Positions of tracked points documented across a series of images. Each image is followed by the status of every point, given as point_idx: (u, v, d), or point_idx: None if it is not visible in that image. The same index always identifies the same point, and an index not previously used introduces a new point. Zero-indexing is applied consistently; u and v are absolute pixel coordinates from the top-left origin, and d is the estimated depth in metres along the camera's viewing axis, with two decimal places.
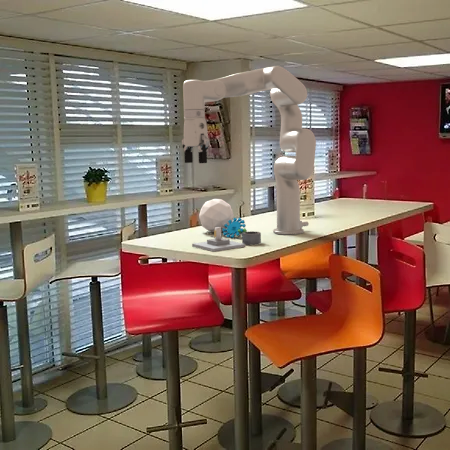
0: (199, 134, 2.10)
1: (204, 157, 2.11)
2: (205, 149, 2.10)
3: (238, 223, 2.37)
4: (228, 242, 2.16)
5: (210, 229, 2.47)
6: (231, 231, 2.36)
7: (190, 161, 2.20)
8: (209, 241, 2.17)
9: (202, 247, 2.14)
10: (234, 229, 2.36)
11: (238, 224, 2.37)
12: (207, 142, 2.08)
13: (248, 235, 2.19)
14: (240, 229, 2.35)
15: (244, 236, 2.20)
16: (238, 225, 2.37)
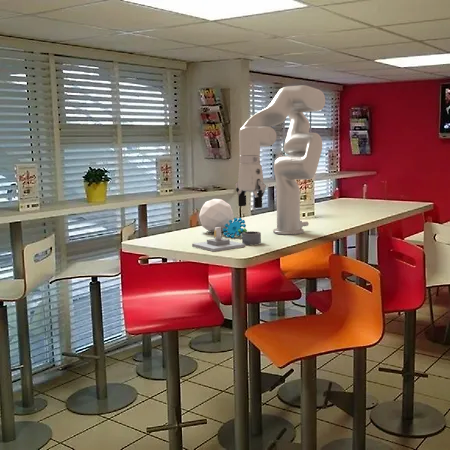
0: (255, 180, 2.14)
1: (260, 202, 2.15)
2: (261, 194, 2.14)
3: (238, 223, 2.37)
4: (228, 242, 2.16)
5: (210, 229, 2.47)
6: (231, 231, 2.36)
7: (244, 204, 2.24)
8: (209, 241, 2.17)
9: (202, 247, 2.14)
10: (234, 229, 2.36)
11: (238, 224, 2.37)
12: (264, 188, 2.12)
13: (248, 235, 2.19)
14: (240, 229, 2.35)
15: (244, 236, 2.20)
16: (238, 225, 2.37)
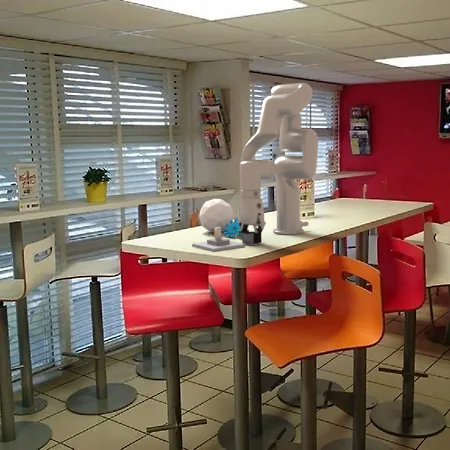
0: (256, 214, 2.16)
1: (259, 237, 2.18)
2: (260, 230, 2.17)
3: None
4: (228, 242, 2.16)
5: (210, 229, 2.47)
6: (232, 231, 2.37)
7: None
8: (209, 241, 2.17)
9: (202, 247, 2.14)
10: (235, 229, 2.36)
11: None
12: (263, 225, 2.15)
13: (248, 235, 2.19)
14: None
15: (244, 236, 2.20)
16: None
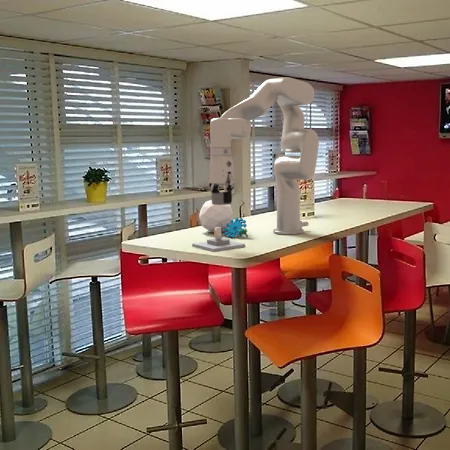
0: (226, 172, 2.10)
1: (229, 197, 2.12)
2: (230, 189, 2.11)
3: (239, 223, 2.38)
4: (228, 242, 2.16)
5: (210, 229, 2.47)
6: (232, 231, 2.37)
7: None
8: (209, 241, 2.17)
9: (202, 247, 2.14)
10: (235, 229, 2.37)
11: (239, 224, 2.37)
12: (233, 183, 2.09)
13: (218, 194, 2.12)
14: (241, 229, 2.35)
15: (214, 196, 2.13)
16: (239, 225, 2.37)
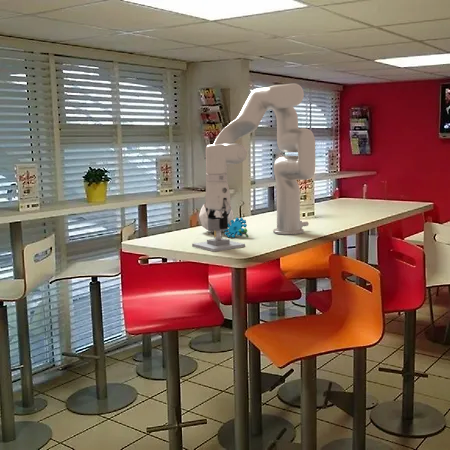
0: (222, 199, 2.10)
1: (225, 223, 2.12)
2: (226, 215, 2.11)
3: (239, 223, 2.38)
4: (228, 242, 2.16)
5: None
6: (232, 231, 2.37)
7: None
8: (209, 241, 2.17)
9: (202, 247, 2.14)
10: (235, 229, 2.37)
11: (239, 224, 2.37)
12: (229, 210, 2.09)
13: (214, 220, 2.13)
14: (241, 229, 2.35)
15: (210, 221, 2.14)
16: (239, 225, 2.37)
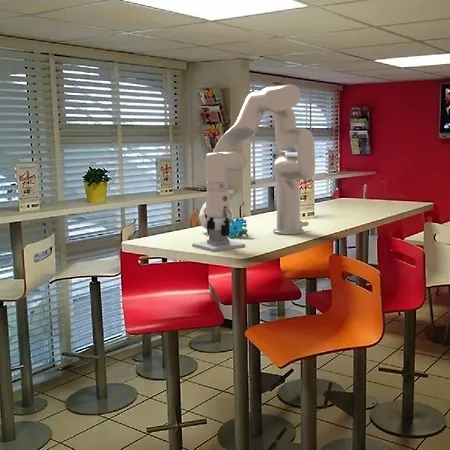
0: (222, 207, 2.11)
1: (227, 230, 2.12)
2: (228, 222, 2.11)
3: (240, 223, 2.38)
4: (228, 242, 2.16)
5: None
6: (232, 231, 2.37)
7: None
8: (209, 241, 2.17)
9: (202, 247, 2.14)
10: (235, 229, 2.37)
11: (240, 224, 2.37)
12: (230, 216, 2.09)
13: (214, 231, 2.14)
14: (241, 229, 2.35)
15: (210, 232, 2.15)
16: (239, 225, 2.37)
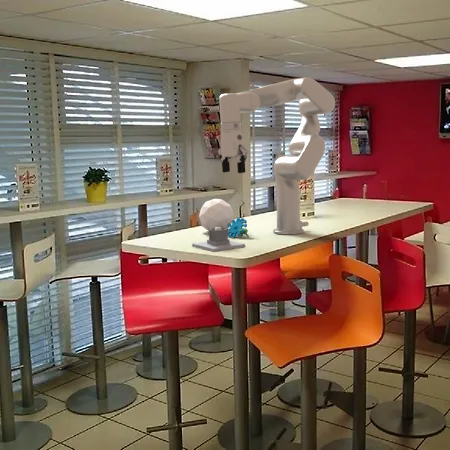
0: (237, 145, 2.20)
1: (243, 167, 2.21)
2: (244, 159, 2.20)
3: (240, 223, 2.38)
4: (228, 242, 2.16)
5: None
6: (233, 231, 2.37)
7: (227, 170, 2.30)
8: (209, 241, 2.17)
9: (202, 247, 2.14)
10: (236, 229, 2.37)
11: (240, 224, 2.37)
12: (246, 153, 2.18)
13: (214, 231, 2.14)
14: (241, 229, 2.35)
15: (210, 232, 2.15)
16: (240, 225, 2.37)
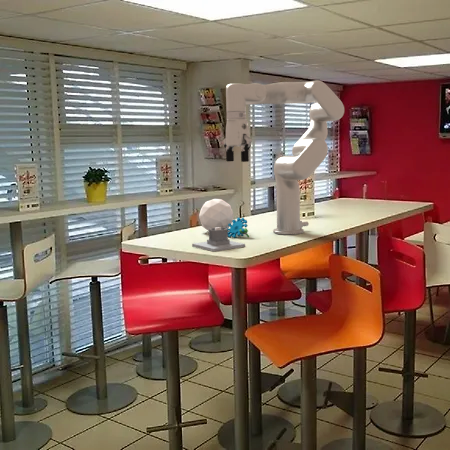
0: (242, 134, 2.24)
1: (246, 156, 2.25)
2: (247, 148, 2.24)
3: (241, 223, 2.38)
4: (228, 242, 2.16)
5: None
6: (233, 231, 2.37)
7: (231, 160, 2.34)
8: (209, 241, 2.17)
9: (202, 247, 2.14)
10: (236, 229, 2.37)
11: (240, 224, 2.37)
12: (250, 142, 2.22)
13: (214, 231, 2.14)
14: (241, 229, 2.35)
15: (210, 232, 2.15)
16: (240, 225, 2.37)
